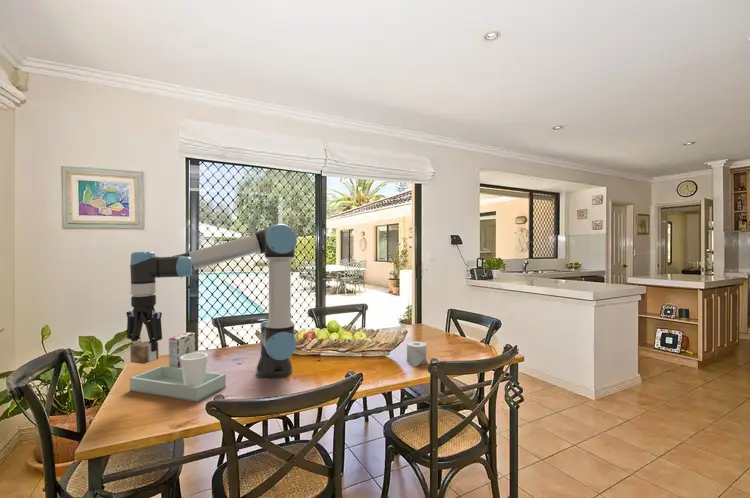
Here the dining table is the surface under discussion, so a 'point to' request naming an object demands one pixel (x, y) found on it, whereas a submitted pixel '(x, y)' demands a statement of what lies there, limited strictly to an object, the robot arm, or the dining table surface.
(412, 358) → the toilet tissue
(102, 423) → the dining table surface
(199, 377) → the foam cup
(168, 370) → the tote
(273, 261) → the robot arm
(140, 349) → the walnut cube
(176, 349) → the candy bar box
